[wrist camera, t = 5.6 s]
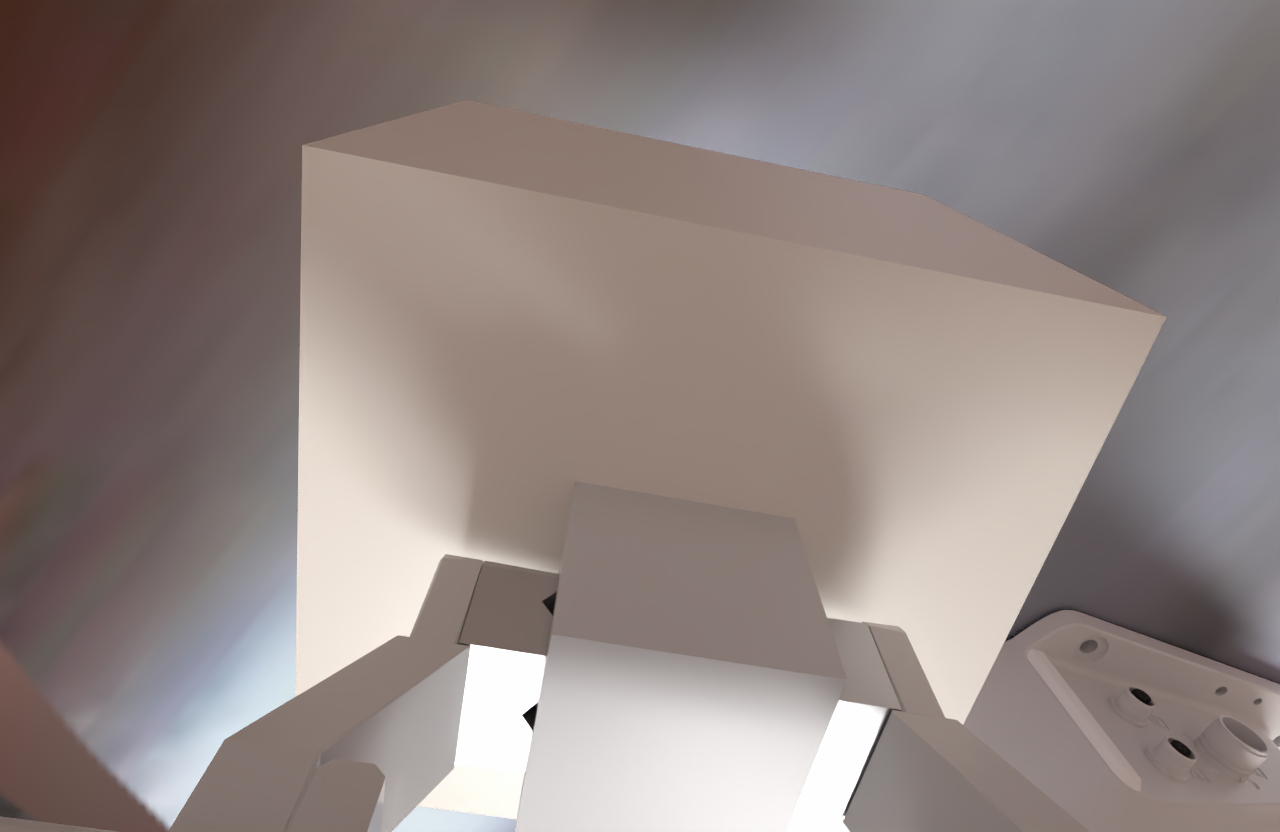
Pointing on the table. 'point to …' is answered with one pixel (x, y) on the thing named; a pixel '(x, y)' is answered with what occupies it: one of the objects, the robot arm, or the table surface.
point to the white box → (679, 441)
